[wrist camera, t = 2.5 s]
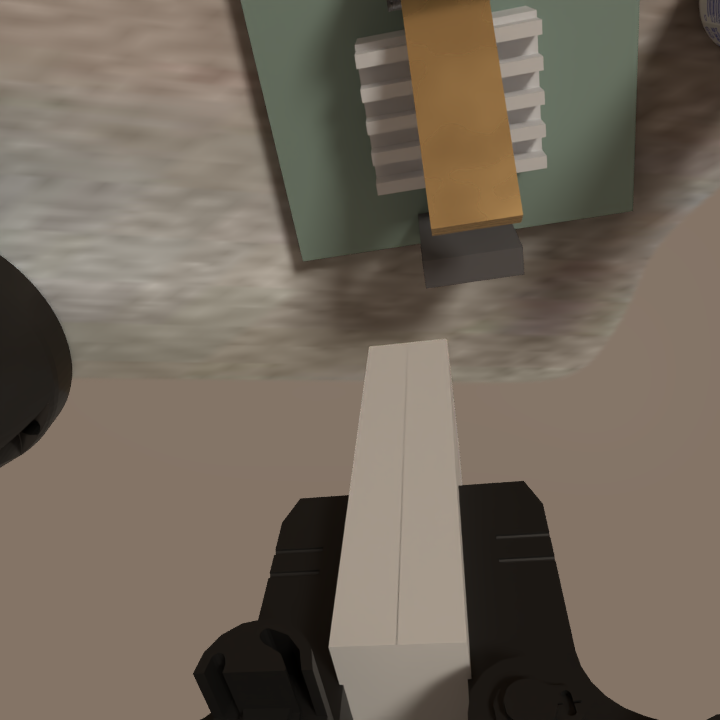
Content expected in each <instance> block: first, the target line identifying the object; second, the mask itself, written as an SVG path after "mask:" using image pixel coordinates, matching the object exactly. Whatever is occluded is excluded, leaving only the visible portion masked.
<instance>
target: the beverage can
mask: <svg viewBox="0 0 720 720" xmlns="http://www.w3.org/2000/svg"><path fill="white" fill-rule="evenodd" d="M699 11H700V17H701V21H702V24H703V27H704V29H705V31H706V33H707V34H708V36H709V37H710V38H711V40H712V41H713V42H715V43H716V44H717V45H718V46H719V47H720V0H699Z"/></svg>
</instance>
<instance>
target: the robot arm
mask: <svg viewBox="0 0 720 720" xmlns="http://www.w3.org/2000/svg"><path fill="white" fill-rule="evenodd" d="M71 380H72V363H71V356H70V350H69V346H68V343H67V340H66V337H65V334H64V332H63V329H62V327H61V325H60V323H59V321H58V319H57V317H56V315H55V314H54V312H53V310H52V308H51V307H50V306H49V304H48V303H47V301H46V300H45V298H44V297H43V296H42V295H41V293H40V292H39V291H38V290H37V288H36V287H35V286H34V285H33V284H32V283H31V282H30V281H29V280H28V279H27V278H26V277H25V276H24V275H23V274H22V273H21V272H20V271H19V270H18V269H17V268H16V267H15V266H13V265H12V264H11V263H10V262H8V261H7V260H6V259H5V258H3V257H2V256H0V467H2V466H3V465H5V464H7V463H8V462H10V461H12V460H13V459H15V458H17V457H18V456H20V455H22V454H23V453H24V452H26V451H27V450H29V449H30V448H31V447H32V446H33V445H34V444H35V443H37V442H38V441H39V440H40V439H41V437H42V436H43V435H44V434H45V432H46V431H47V430H48V428H49V427H50V426H51V424H52V423H53V422H54V420H55V419H56V417H57V416H58V415H59V413H60V412H61V410H62V408H63V407H64V405H65V402H66V400H67V398H68V395H69V391H70V387H71ZM193 675H194V677H195V679H196V681H197V683H198V685H199V688H200V690H201V692H202V694H203V696H204V698H205V700H206V703H207V705H208V707H209V709H210V711H211V713H210V714H209V715H208V716H206V717H205V718H203V719H201V720H657V719H653V718H650V717H646V716H643V715H641V714H638V713H636V712H633V711H631V710H628V709H626V708H624V707H622V706H620V705H619V704H617V703H615V702H614V701H613V700H611V699H610V698H608V697H607V696H605V695H604V694H603V693H602V692H601V691H600V690H599V689H598V688H597V687H596V686H595V685H594V684H593V683H592V682H591V681H590V679H589V678H588V676H587V675H586V673H585V672H584V670H583V669H582V667H581V665H580V662H579V659H578V657H577V654H576V651H575V647H574V643H573V638H572V634H571V629H570V625H569V620H568V615H567V611H566V606H565V602H564V597H563V593H562V589H561V584H560V579H559V575H558V570H557V566H556V562H555V559H554V552H553V548H552V543H551V538H550V536H549V529H548V525H547V521H546V516H545V511H544V507H543V504H542V503H541V501H540V500H539V499H538V497H536V495H535V494H534V493H533V492H532V490H531V489H530V488H529V487H528V486H527V484H526V483H525V482H524V481H518V482H503V483H488V484H474V485H462V477H461V463H460V451H459V441H458V432H457V424H456V415H455V406H454V397H453V388H452V379H451V370H450V361H449V352H448V344H447V339H438V340H428V341H419V342H409V343H399V344H390V345H380V346H370V347H369V351H368V359H367V366H366V374H365V381H364V389H363V396H362V403H361V411H360V418H359V425H358V433H357V440H356V448H355V455H354V462H353V470H352V477H351V485H350V492H349V495H347V496H346V495H345V496H331V497H317V498H303V499H300V500H299V501H298V503H297V504H296V505H295V507H294V508H293V509H292V510H291V512H290V513H289V515H288V516H287V517H286V518H285V520H284V521H283V522H282V526H281V530H280V534H279V538H278V542H277V546H276V555H274V558H273V563H272V566H271V570H270V578H269V579H268V582H267V587H266V591H265V595H264V599H263V603H262V607H261V611H260V615H259V619H258V621H252V622H248V623H243V624H241V625H239V626H237V627H235V628H233V629H232V630H230V631H228V632H226V633H224V634H223V635H221V636H220V637H219V638H218V639H217V640H216V641H215V642H214V643H213V644H212V645H211V646H210V647H209V648H208V649H207V650H206V651H205V652H204V653H203V655H202V658H201V659H200V661H199V663H198V665H197V667H196V669H195V671H194V673H193ZM707 720H720V714H719V715H715V716H713V717H711V718H709V719H707Z"/></svg>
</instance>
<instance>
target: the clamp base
mask: <svg viewBox="0 0 720 720" xmlns="http://www.w3.org/2000/svg"><path fill="white" fill-rule="evenodd" d="M639 1H640V0H490V6H491V13H492V19H493V25H494V32H495V38H496V44H497V51H498V57H499V64H500V70H501V76H502V83H503V89H504V96H505V102H506V108H507V115H508V121H509V127H510V134H511V140H512V147H513V153H514V159H515V166H516V172H517V178H518V185H519V191H520V198H521V204H522V210H523V218H522V221H521V223H514V224H508V225H501V226H495V227H488V228H482V229H475V230H469V231H462V232H456V233H449V234H443V235H436V236H432V232H431V224H430V217H429V209H428V202H427V194H426V187H425V179H424V172H423V164H422V157H421V149H420V141H419V134H418V126H417V119H416V111H415V104H414V96H413V89H412V81H411V74H410V66H409V59H408V51H407V44H406V36H405V28H404V21H403V13H402V9H401V10H396V11H391V12H388V8H387V1H386V0H241V5H242V9H243V13H244V17H245V21H246V25H247V30H248V34H249V38H250V42H251V46H252V50H253V55H254V59H255V63H256V67H257V71H258V75H259V80H260V84H261V88H262V92H263V96H264V101H265V105H266V109H267V113H268V117H269V121H270V126H271V130H272V134H273V138H274V142H275V146H276V151H277V155H278V159H279V163H280V167H281V172H282V176H283V180H284V184H285V188H286V192H287V197H288V201H289V205H290V209H291V213H292V217H293V222H294V226H295V230H296V234H297V238H298V242H299V247H300V251H301V255H302V259H303V261H309V260H316V259H323V258H329V257H336V256H342V255H349V254H355V253H362V252H368V251H375V250H381V249H388V248H394V247H401V246H408V245H414V244H421V251H422V261H423V269H424V276H425V283H426V288H433V287H440V286H447V285H454V284H460V283H467V282H474V281H481V280H488V279H495V278H502V277H509V276H516V275H523V274H524V261H523V246H522V244H521V242H520V240H519V237H518V235H517V233H516V231H515V229H519V228H525V227H532V226H538V225H545V224H551V223H558V222H565V221H571V220H578V219H584V218H591V217H597V216H604V215H610V214H617V213H623V212H630V211H633V190H634V159H635V127H636V95H637V64H638V32H639Z"/></svg>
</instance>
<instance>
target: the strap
mask: <svg viewBox="0 0 720 720" xmlns="http://www.w3.org/2000/svg"><path fill="white" fill-rule="evenodd" d="M386 1H387V8H388V12H391V11H396V10H401V9H402V13H403V21H404V28H405V36H406V44H407V51H408V59H409V66H410V74H411V81H412V89H413V96H414V104H415V111H416V119H417V126H418V134H419V141H420V149H421V157H422V164H423V172H424V179H425V187H426V194H427V202H428V209H429V217H430V224H431V232H432V236H436V235H443V234H449V233H456V232H462V231H469V230H475V229H482V228H488V227H495V226H501V225H508V224H514V223H521V221H522V218H523V210H522V204H521V198H520V191H519V185H518V178H517V172H516V166H515V159H514V153H513V147H512V140H511V134H510V127H509V121H508V115H507V108H506V102H505V96H504V89H503V83H502V76H501V70H500V64H499V57H498V51H497V44H496V38H495V32H494V25H493V19H492V13H491V6H490V0H386Z"/></svg>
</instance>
